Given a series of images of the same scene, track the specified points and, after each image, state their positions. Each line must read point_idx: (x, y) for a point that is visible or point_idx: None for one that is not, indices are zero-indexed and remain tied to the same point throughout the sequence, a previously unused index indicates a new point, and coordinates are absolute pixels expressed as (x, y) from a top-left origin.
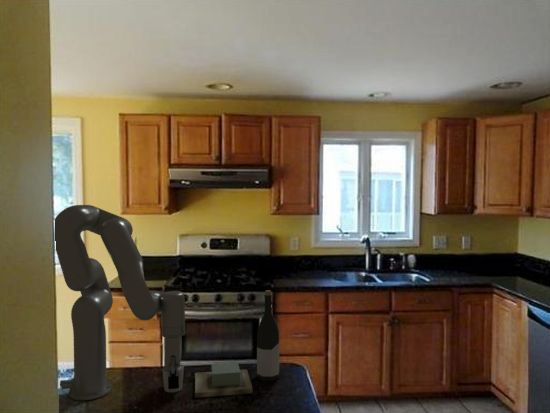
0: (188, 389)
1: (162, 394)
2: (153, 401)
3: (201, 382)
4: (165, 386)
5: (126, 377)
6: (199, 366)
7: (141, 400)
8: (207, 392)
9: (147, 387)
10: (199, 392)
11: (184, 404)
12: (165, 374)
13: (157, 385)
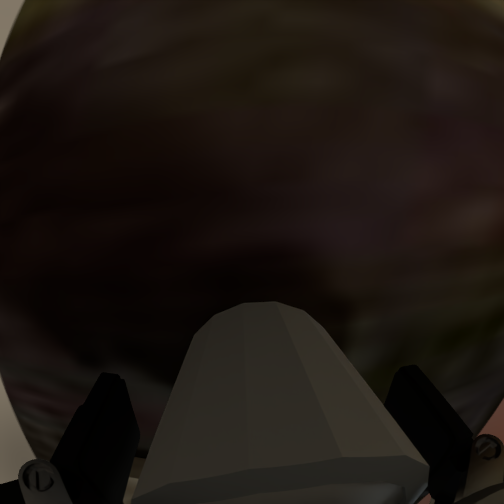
0: None
1: (153, 289)
2: (41, 223)
3: None
4: (209, 336)
5: (500, 29)
6: (485, 419)
7: (68, 117)
8: (123, 499)
9: (344, 135)
10: None
11: (35, 400)
12: (168, 445)
13: (366, 230)
